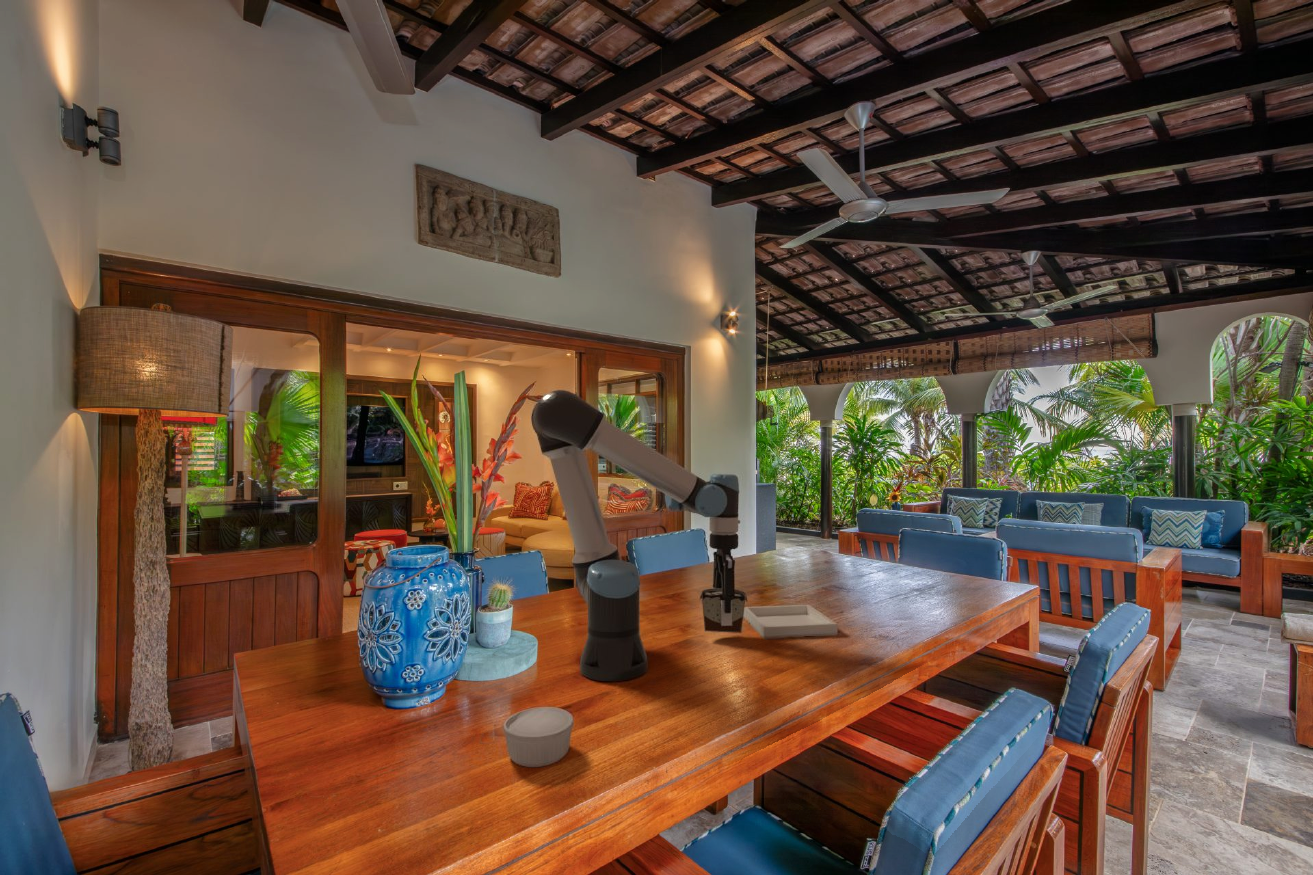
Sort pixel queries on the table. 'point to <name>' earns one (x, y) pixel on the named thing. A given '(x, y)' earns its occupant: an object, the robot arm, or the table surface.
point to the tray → (789, 621)
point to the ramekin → (538, 736)
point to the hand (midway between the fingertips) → (723, 620)
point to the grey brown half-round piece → (713, 610)
